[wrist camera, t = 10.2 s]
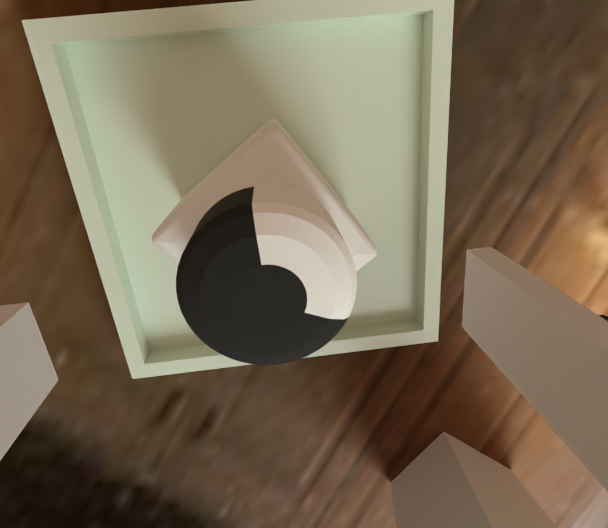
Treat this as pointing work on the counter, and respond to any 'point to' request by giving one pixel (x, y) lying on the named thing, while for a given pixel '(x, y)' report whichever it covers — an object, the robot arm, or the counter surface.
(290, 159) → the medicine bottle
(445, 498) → the soap bottle
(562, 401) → the robot arm
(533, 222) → the counter surface
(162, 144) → the tray
